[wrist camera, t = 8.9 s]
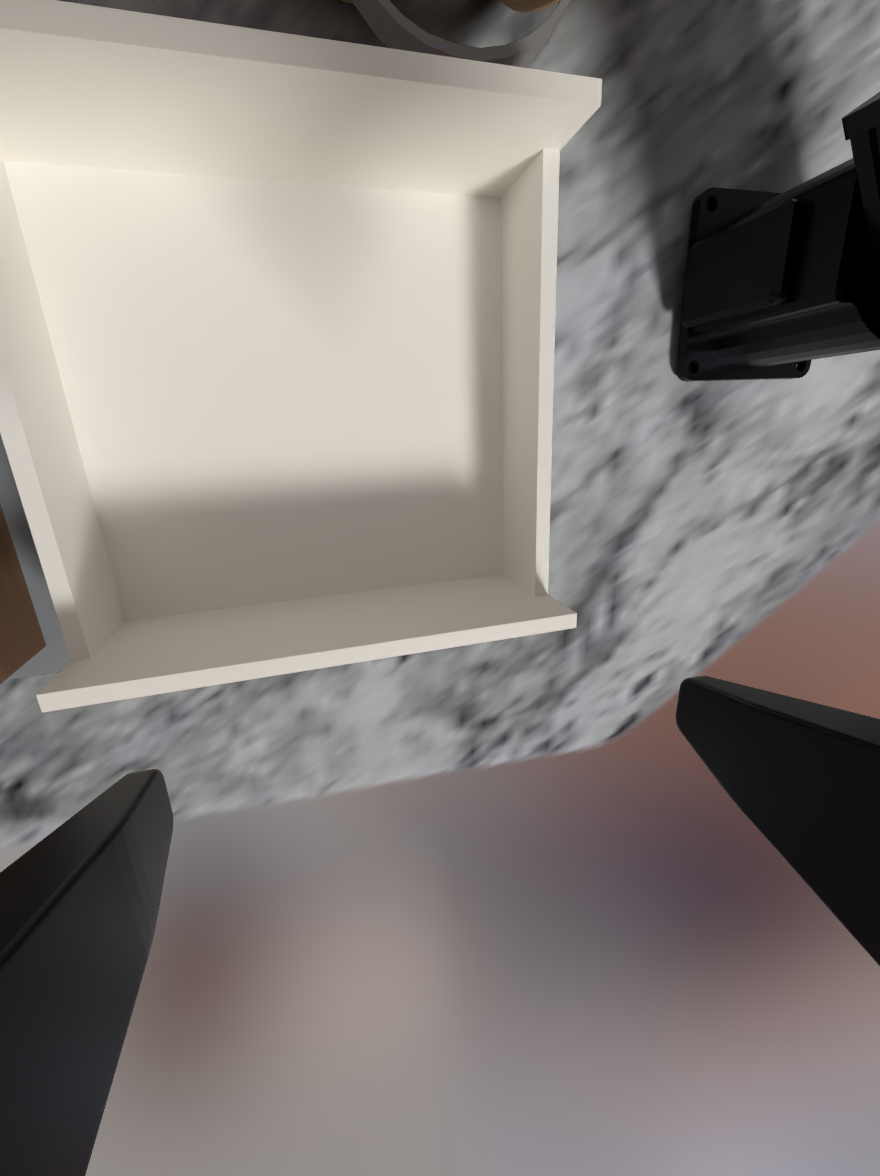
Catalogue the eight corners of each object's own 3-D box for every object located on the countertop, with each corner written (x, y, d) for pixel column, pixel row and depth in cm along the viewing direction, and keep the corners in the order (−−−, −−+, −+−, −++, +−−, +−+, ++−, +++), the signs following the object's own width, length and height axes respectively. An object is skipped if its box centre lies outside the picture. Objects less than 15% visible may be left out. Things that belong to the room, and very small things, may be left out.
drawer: (509, 188, 17) (602, 78, 11) (509, 581, 21) (576, 627, 16) (-15, 146, 13) (-216, -40, 8) (117, 631, 17) (42, 712, 12)
